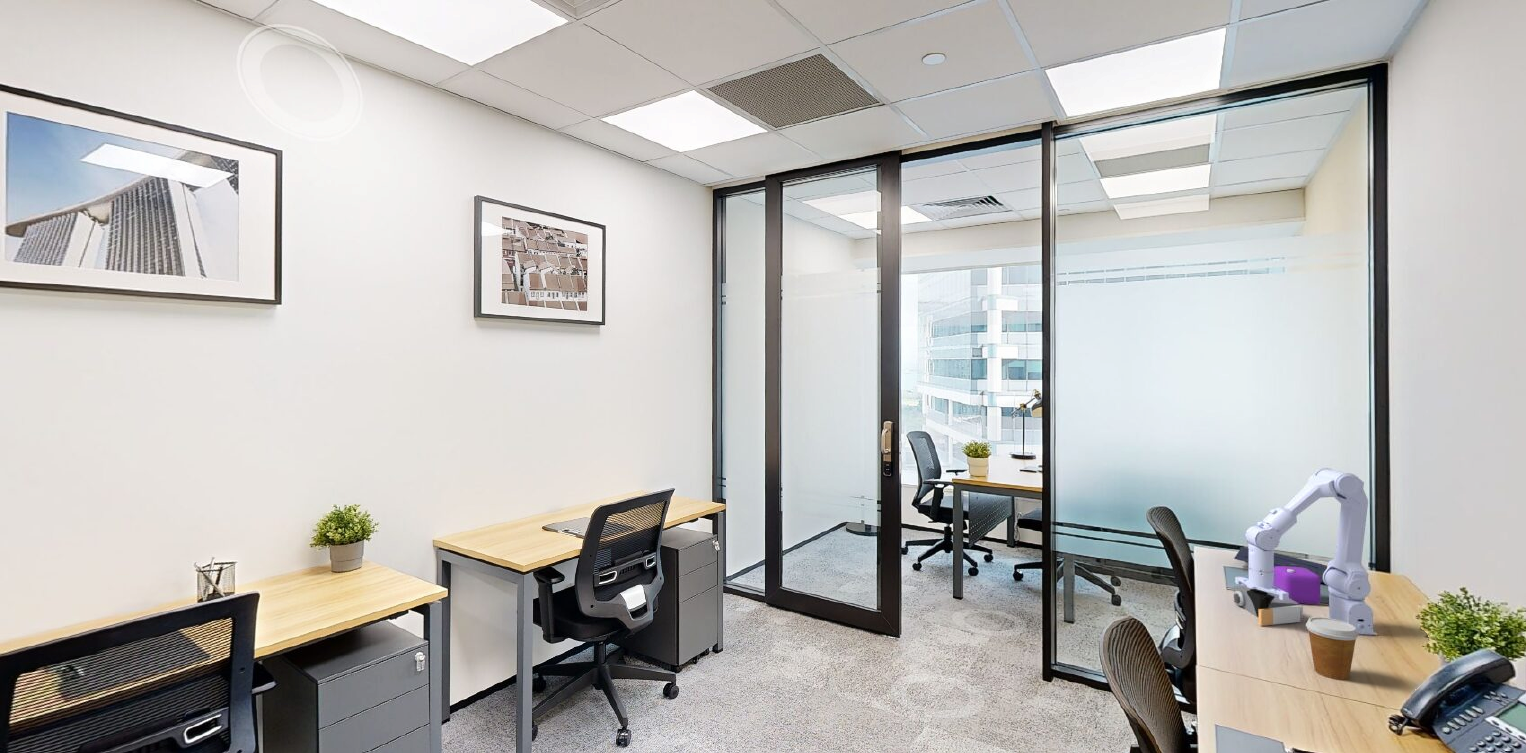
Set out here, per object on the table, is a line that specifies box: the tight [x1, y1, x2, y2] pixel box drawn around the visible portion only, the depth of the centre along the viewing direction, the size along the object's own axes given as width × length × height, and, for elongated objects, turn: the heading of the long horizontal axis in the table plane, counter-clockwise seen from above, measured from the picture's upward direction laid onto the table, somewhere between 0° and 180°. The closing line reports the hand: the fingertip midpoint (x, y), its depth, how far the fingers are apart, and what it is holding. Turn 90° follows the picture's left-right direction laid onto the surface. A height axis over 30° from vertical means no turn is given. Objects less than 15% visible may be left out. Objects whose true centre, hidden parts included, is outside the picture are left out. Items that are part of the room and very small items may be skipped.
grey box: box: [1233, 585, 1304, 622], centre depth 193 cm, size 15×12×6 cm
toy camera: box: [1274, 566, 1321, 605], centre depth 204 cm, size 11×14×10 cm
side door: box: [1258, 605, 1301, 626], centre depth 184 cm, size 13×1×4 cm, turn 101°
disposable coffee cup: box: [1305, 616, 1360, 681], centre depth 155 cm, size 10×10×12 cm
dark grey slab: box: [1233, 546, 1328, 584], centre depth 231 cm, size 24×30×4 cm
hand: (1260, 616), depth 185 cm, fingers closed
